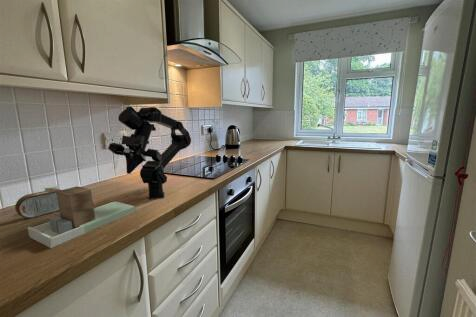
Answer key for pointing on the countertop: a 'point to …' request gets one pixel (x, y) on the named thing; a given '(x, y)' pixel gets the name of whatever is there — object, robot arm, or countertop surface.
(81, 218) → the walnut push block
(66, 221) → the slate tile
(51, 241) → the cream tray
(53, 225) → the slate tile
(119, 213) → the sage board
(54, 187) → the pill bottle
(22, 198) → the tin
